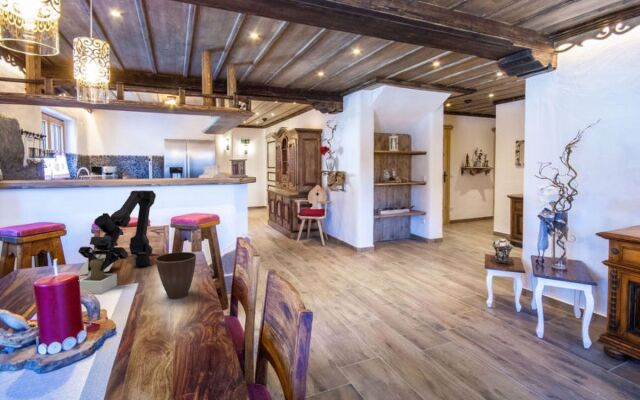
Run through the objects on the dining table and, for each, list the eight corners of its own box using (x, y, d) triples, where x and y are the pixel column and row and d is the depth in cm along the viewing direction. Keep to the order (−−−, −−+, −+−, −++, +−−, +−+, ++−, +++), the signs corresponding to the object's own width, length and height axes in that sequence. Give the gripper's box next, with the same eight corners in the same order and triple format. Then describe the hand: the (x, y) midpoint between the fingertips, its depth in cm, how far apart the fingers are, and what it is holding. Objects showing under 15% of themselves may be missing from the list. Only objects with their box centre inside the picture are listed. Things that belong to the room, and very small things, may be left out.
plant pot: (158, 305, 129) (156, 263, 127) (156, 292, 142) (154, 254, 141) (199, 298, 136) (198, 259, 134) (194, 286, 149) (193, 250, 147)
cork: (99, 281, 149) (97, 256, 148) (110, 283, 147) (108, 258, 146) (86, 286, 143) (84, 260, 142) (97, 288, 142) (95, 262, 140)
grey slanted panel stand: (119, 280, 168) (128, 254, 178) (109, 270, 162) (118, 244, 172) (86, 284, 169) (97, 258, 179) (75, 275, 162) (86, 249, 173)
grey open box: (94, 284, 150) (94, 273, 150) (117, 285, 150) (116, 273, 150) (77, 293, 141) (77, 281, 140) (101, 293, 140) (101, 281, 140)
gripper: (79, 228, 147) (61, 260, 137) (122, 228, 146) (107, 261, 137) (93, 241, 156) (77, 273, 146) (134, 242, 155) (120, 274, 145)
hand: (95, 270), depth 143 cm, fingers closed on cork, 5 cm apart
